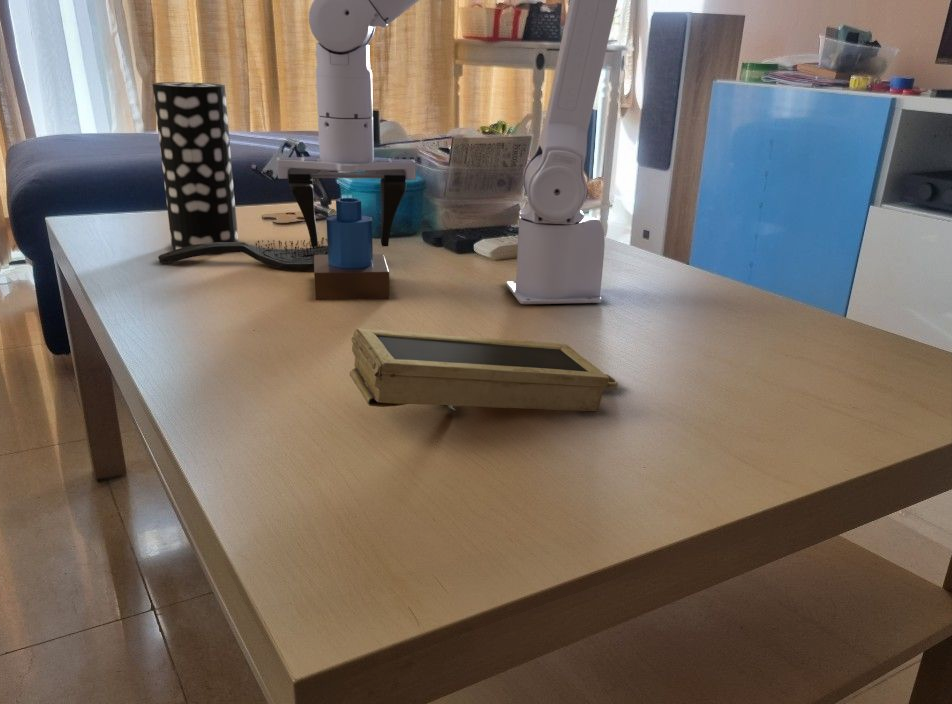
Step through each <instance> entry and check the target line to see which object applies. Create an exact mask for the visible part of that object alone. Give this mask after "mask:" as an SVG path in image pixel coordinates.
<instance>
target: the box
mask: <svg viewBox="0 0 952 704" xmlns="http://www.w3.org/2000/svg"><path fill="white" fill-rule="evenodd" d="M350 340H351V343H352V345H351V352H352V353H353V355H354V365H353V366H354V368H352V369H351V370H350V371H349V376H350V378H351V380H352V381H353V383H354V384H355V386H356V388H358V390H359V392H360V393H361V395H362V397H363V398H364V400H365V402H366V403H367V405H368V406H369V407H377V408H388V407H390V408H391V407H399V406H405V405H423V406H424V405H425V406H440V407H443V408H446V409H448V410H451V411H453V412H455V411H456V409H455V407H476V408H477V407H478V408H496V409H497V408H500V409H502V408H503V409H526V410H527V409H529V410H530V409H531V410H550V411H551V410H554V411H555V410H556V411H579V412H580V411H581V412H598V411H599V409H600V405H601V402H602V399H603V395H604V391H605V389H609V390H613V391H616V390H617V388H618V384H619V382H618V381H617V380H616V378H614V377H612V376H611V375H609V374H607V373H605V372H604V371H602V370H601V369H599V368H598V367H597V366H596V365H594V364H592V362H590V361H589V360H587V359H586V358H584V356H582V355H581V354H580V353H578V352H577V351H576V350H574V349H573V348H572V347H570V346H569V344H566V343H555V342H543V341H542V342H541V341H527V340H516V339H515V340H514V339H510V340H509V339H498V338H489V337H488V338H487V337H474V336H463V335H449V334H439V333H425V332H410V331H396V330H384V329H373V328H372V329H369V328H359V327H357V328H356V329H355V330H353V335H352V337H351V338H350Z"/></svg>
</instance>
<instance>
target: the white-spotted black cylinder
mask: <svg viewBox="0 0 952 704" xmlns="http://www.w3.org/2000/svg"><path fill="white" fill-rule="evenodd" d="M152 91H153V101H154V108H155V116H156V124H157V132H158V133H157V134H158V142H159V150H160V158H161V167H162V168H161V169H162V175H163V183H164V184H163V185H164V192H165V200H166V208H167V217H168V224H169V225H168V226H169V234H170V242H171V243H170V244H171V248H172V251H173V250H176V249H180V248H183V247H187V246H191V245H195V244H205V243H214V242H239V234H238V233H239V232H238V221H237V211H236V209H237V208H236V200H235V187H234V175H233V164H232V153H231V140H230V131H229V130H230V129H229V118H228V107H227V95H226V86H225V85H224V84H220V83H207V82H187V81H185V82H182V81H181V82H179V81H175V82H174V81H169V82H168V81H167V82H166V81H165V82H154V83H152ZM213 254H214V253H212V255H213Z"/></svg>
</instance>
